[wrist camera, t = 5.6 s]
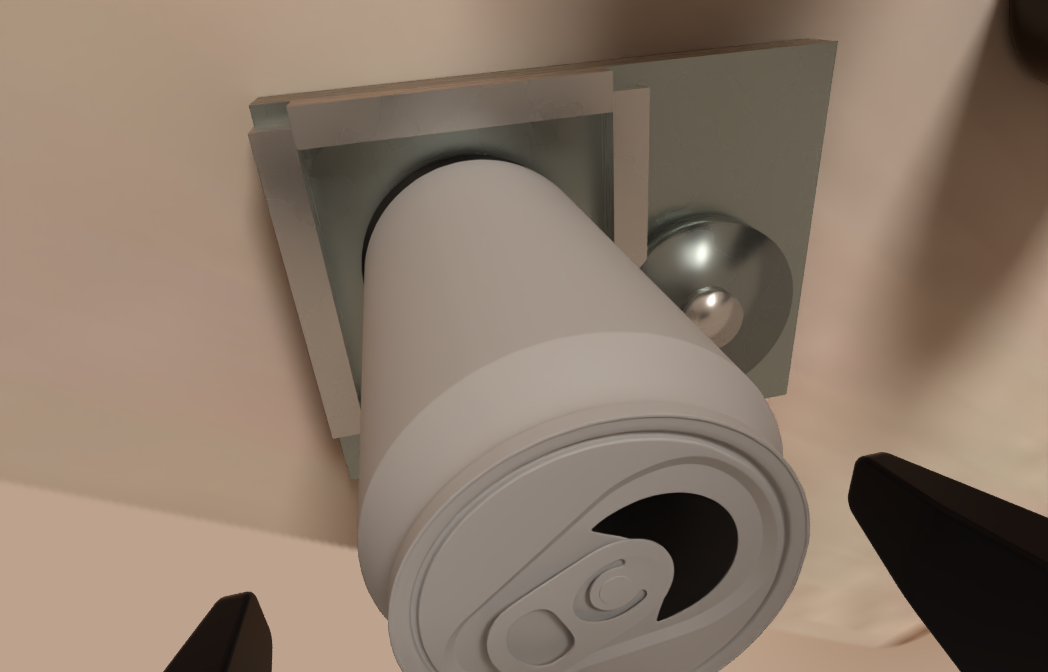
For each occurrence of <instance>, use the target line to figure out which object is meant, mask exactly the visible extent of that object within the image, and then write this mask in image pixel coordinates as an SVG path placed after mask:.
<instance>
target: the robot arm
mask: <svg viewBox="0 0 1048 672" xmlns="http://www.w3.org/2000/svg"><path fill="white" fill-rule="evenodd" d="M848 503H849V507H850V509H851V512H852V513H853V515H854V517H855V518H856V520H857V522H858V523H859V525H860V526H861V528H862V530H863V531H864V533H865V534H866V536H867V538H868V539H869V541H870V543H871V544H872V546H873V547H874V549H875V551H876V552H877V554H878V555H879V557H880V559H881V560H882V562H883V563H884V565H885V567H886V568H887V570H888V572H889V573H890V575H891V576H892V578H893V580H894V581H895V583H896V584H897V586H898V587H899V589H900V591H901V592H902V594H903V595H904V597H905V598H906V600H907V601H908V602H909V604H910V605H911V607H912V608H913V609H914V611H915V612H916V613H917V615H918V616H919V617H920V619H921V620H922V621H923V623H924V624H925V625H926V627H927V628H928V629H929V631H930V632H931V633H932V635H933V636H934V637H935V639H936V640H937V641H938V643H939V644H940V645H941V646H942V648H943V649H944V650H945V652H946V653H947V654H948V656H949V657H950V658H951V660H952V661H953V662H954V664H955V665H956V666H957V668H958V669H959V670H960V671H961V672H1048V518H1047V517H1045V516H1042V515H1040V514H1037V513H1035V512H1032V511H1030V510H1027V509H1025V508H1022V507H1020V506H1018V505H1015V504H1013V503H1010V502H1008V501H1005V500H1003V499H1000V498H998V497H995V496H993V495H990V494H988V493H985V492H983V491H980V490H978V489H976V488H973V487H971V486H968V485H966V484H963V483H961V482H958V481H956V480H953V479H951V478H948V477H946V476H943V475H941V474H939V473H936V472H934V471H931V470H929V469H926V468H924V467H921V466H919V465H916V464H914V463H911V462H909V461H906V460H904V459H901V458H899V457H897V456H894V455H892V454H889V453H885V452H880V453H875V454H870V455H866V456H862V457H860V458H858V460H857V461H856V462H855V465H854V470H853V475H852V479H851V484H850V488H849V493H848ZM271 671H272V638H271V632H270V629H269V626H268V624H267V622H266V619H265V617H264V614H263V612H262V609H261V607H260V605H259V602H258V600H257V598H256V596H255V595H254V594H253V593H252V592H243V593H239V594H234V595H230V596H225V597H223V598H221V599H219V600H218V601H217V602H216V603H215V604H214V606H213V607H212V608H211V610H210V611H209V612H208V614H207V615H206V616H205V618H204V619H203V620H202V621H201V623H200V624H199V625H198V627H197V628H196V629H195V631H194V632H193V633H192V635H191V636H190V637H189V639H188V640H187V641H186V642H185V644H184V645H183V646H182V648H181V649H180V650H179V652H178V653H177V654H176V656H175V657H174V658H173V660H172V661H171V662H170V664H169V665H168V666H167V668H166V669H165V670H164V672H271Z"/></svg>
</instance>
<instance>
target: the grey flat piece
mask: <svg viewBox="0 0 1048 672" xmlns="http://www.w3.org/2000/svg"><path fill="white" fill-rule="evenodd" d="M837 42H838V41H828V40H816V39H798V40H789V41H780V42H770V43H761V44H752V45H742V46H733V47H724V48H714V49H705V50H696V51H687V52H677V53H668V54H659V55H649V56H640V57H631V58H622V59H612V60H603V61H594V62H584V63H575V64H566V65H557V66H547V67H538V68H529V69H519V70H510V71H501V72H492V73H482V74H473V75H464V76H454V77H445V78H436V79H427V80H417V81H408V82H399V83H389V84H380V85H371V86H362V87H352V88H343V89H334V90H324V91H315V92H306V93H296V94H287V95H278V96H269V97H259V98H257V99H256V100H255V101H254V102H252V103H251V104H250V105H249V108H250V112H251V116H252V119H253V123H254V128H253V129H252V130H251V131H250V132H249V133H248V137H249V140H250V144H251V147H252V151H253V155H254V158H255V162H256V165H257V169H258V173H259V176H260V180H261V183H262V187H263V190H264V194H265V198H266V201H267V205H268V208H269V212H270V216H271V219H272V223H273V226H274V230H275V234H276V237H277V241H278V244H279V248H280V251H281V255H282V259H283V262H284V266H285V269H286V273H287V277H288V280H289V284H290V287H291V291H292V294H293V298H294V302H295V305H296V309H297V312H298V316H299V320H300V323H301V327H302V330H303V334H304V338H305V341H306V345H307V348H308V352H309V355H310V359H311V363H312V366H313V370H314V373H315V377H316V381H317V384H318V388H319V391H320V395H321V399H322V402H323V406H324V409H325V413H326V416H327V420H328V424H329V427H330V431H331V434H332V438H333V439H335V438H339V439H340V443H341V446H342V450H343V454H344V457H345V461H346V465H347V468H348V472H349V476H350V479H351V480H356V479H359V458H360V421H361V384H362V346H363V309H364V272H365V259H366V253H367V248H368V244H369V241H370V238H371V235H372V233H373V231H374V228H375V226H376V224H377V222H378V220H379V219H380V217H381V215H382V214H383V212H384V211H385V209H386V208H387V207H388V205H389V204H390V203H391V202H392V201H393V199H394V198H395V197H396V196H397V195H398V194H399V193H400V192H401V191H402V190H404V189H405V188H406V187H407V186H409V185H410V184H411V183H412V182H414V181H415V180H417V179H418V178H420V177H421V176H423V175H425V174H427V173H429V172H431V171H433V170H435V169H438V168H440V167H443V166H446V165H450V164H453V163H457V162H462V161H470V160H497V161H504V162H509V163H513V164H517V165H520V166H523V167H525V168H528V169H530V170H532V171H534V172H536V173H538V174H540V175H542V176H544V177H545V178H547V179H548V180H549V181H551V182H552V183H554V184H555V185H556V186H557V187H558V188H560V189H561V190H562V191H563V192H564V193H565V194H566V195H567V196H568V197H569V198H570V199H571V200H572V201H573V202H574V203H575V204H576V205H577V206H578V207H579V208H580V209H581V210H582V211H583V212H584V213H585V214H586V215H587V216H588V217H589V218H590V219H591V220H592V221H593V222H594V223H595V224H596V225H597V226H598V227H599V228H600V229H601V230H602V231H603V232H604V233H605V234H606V235H607V236H608V237H609V238H610V239H611V240H612V241H613V242H614V243H615V244H616V245H617V246H618V247H619V248H620V249H621V250H622V251H623V252H624V253H625V254H626V255H627V256H628V257H629V258H630V260H631V261H632V262H633V263H634V264H635V265H636V266H637V267H638V268H639V269H640V270H641V271H642V272H643V273H644V274H645V275H646V276H647V277H648V278H649V279H650V280H651V281H652V282H653V283H654V284H655V285H656V286H657V287H658V288H659V289H660V290H661V291H662V292H663V293H664V294H665V295H666V296H667V297H668V298H669V299H670V300H671V301H672V302H673V303H674V304H675V305H676V306H677V307H678V308H679V309H680V310H681V311H682V312H683V313H684V314H685V315H686V316H687V317H688V318H689V319H690V320H691V321H692V322H693V323H694V324H695V325H696V326H697V327H698V328H699V329H700V330H701V331H702V332H703V333H704V334H705V335H706V336H707V337H708V338H709V339H710V340H711V341H712V342H713V343H714V344H715V345H716V346H717V347H718V348H719V349H720V350H721V351H722V352H723V353H724V354H725V355H726V356H727V357H728V358H729V359H730V360H731V361H732V362H733V363H734V364H735V365H736V366H737V367H738V368H739V369H740V370H741V371H742V372H743V373H744V374H745V375H746V376H747V377H748V378H749V379H750V380H751V381H752V382H753V383H754V384H755V385H756V387H757V388H758V389H759V391H760V392H761V393H762V395H763V396H764V398H770V397H775V396H780V395H785V394H786V392H787V385H788V378H789V372H790V365H791V358H792V351H793V344H794V337H795V330H796V324H797V317H798V310H799V303H800V296H801V289H802V282H803V276H804V269H805V262H806V255H807V248H808V241H809V234H810V228H811V221H812V214H813V207H814V200H815V193H816V186H817V180H818V173H819V166H820V159H821V152H822V145H823V138H824V132H825V125H826V118H827V111H828V104H829V97H830V90H831V84H832V77H833V70H834V63H835V56H836V49H837Z"/></svg>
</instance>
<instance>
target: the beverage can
mask: <svg viewBox="0 0 1048 672" xmlns="http://www.w3.org/2000/svg"><path fill="white" fill-rule="evenodd" d="M809 536H810V517H809V508H808V503H807V500H806V496H805V493H804V490H803V487H802V485H801V483H800V481H799V479H798V477H797V476H796V474H795V472H794V471H793V469H792V468H791V466H790V465H789V464H788V462H787V461H786V460H785V459H784V458H783V446H782V440H781V436H780V432H779V428H778V425H777V422H776V419H775V417H774V414H773V412H772V410H771V409H770V407H769V405H768V403H767V401H766V400H765V398H764V396H763V395H762V393H761V392H760V391H759V389H758V388H757V387H756V385H755V384H754V383H753V382H752V381H751V380H750V379H749V378H748V377H747V376H746V375H745V374H744V373H743V372H742V371H741V370H740V369H739V368H738V367H737V366H736V365H735V364H734V363H733V362H732V361H731V360H730V359H729V358H728V357H727V356H726V355H725V354H724V353H723V352H722V351H721V350H720V349H719V348H718V347H717V346H716V345H715V344H714V343H713V342H712V341H711V340H710V339H709V338H708V337H707V336H706V335H705V334H704V333H703V332H702V331H701V330H700V329H699V328H698V327H697V326H696V325H695V324H694V323H693V322H692V321H691V320H690V319H689V318H688V317H687V316H686V315H685V314H684V313H683V312H682V311H681V310H680V309H679V308H678V307H677V306H676V305H675V304H674V303H673V302H672V301H671V300H670V299H669V298H668V297H667V296H666V295H665V294H664V293H663V292H662V291H661V290H660V289H659V288H658V287H657V286H656V285H655V284H654V283H653V282H652V281H651V280H650V279H649V278H648V277H647V276H646V275H645V274H644V273H643V272H642V271H641V270H640V269H639V268H638V267H637V266H636V265H635V264H634V263H633V262H632V261H631V260H630V258H629V257H628V256H627V255H626V254H625V253H624V252H623V251H622V250H621V249H620V248H619V247H618V246H617V245H616V244H615V243H614V242H613V241H612V240H611V239H610V238H609V237H608V236H607V235H606V234H605V233H604V232H603V231H602V230H601V229H600V228H599V227H598V226H597V225H596V224H595V223H594V222H593V221H592V220H591V219H590V218H589V217H588V216H587V215H586V214H585V213H584V212H583V211H582V210H581V209H580V208H579V207H578V206H577V205H576V204H575V203H574V202H573V201H572V200H571V199H570V198H569V197H568V196H567V195H566V194H565V193H564V192H563V191H562V190H561V189H560V188H558V187H557V186H556V185H555V184H554V183H552V182H551V181H549V180H548V179H547V178H545V177H544V176H542V175H540V174H538V173H536V172H534V171H532V170H530V169H528V168H525V167H523V166H520V165H517V164H513V163H509V162H504V161H497V160H470V161H462V162H457V163H453V164H450V165H446V166H443V167H440V168H438V169H435V170H433V171H431V172H429V173H427V174H425V175H423V176H421V177H420V178H418V179H417V180H415V181H414V182H412V183H411V184H410V185H409V186H407V187H406V188H405V189H404V190H402V191H401V192H400V193H399V194H398V195H397V196H396V197H395V198H394V199H393V201H392V202H391V203H390V204H389V205H388V207H387V208H386V209H385V211H384V212H383V214H382V215H381V217H380V219H379V220H378V222H377V224H376V226H375V228H374V231H373V233H372V235H371V238H370V241H369V244H368V248H367V253H366V259H365V272H364V309H363V346H362V384H361V421H360V458H359V496H358V533H357V543H358V556H359V562H360V567H361V572H362V575H363V578H364V581H365V584H366V587H367V589H368V591H369V593H370V595H371V597H372V599H373V600H374V602H375V604H376V606H377V607H378V609H379V610H380V612H381V613H382V614H383V615H384V617H385V618H386V619H387V620H388V630H389V636H390V642H391V646H392V649H393V653H394V656H395V658H396V661H397V663H398V665H399V666H400V668H401V670H402V672H718V671H719V670H721V669H722V668H724V667H725V666H726V665H727V664H729V663H730V662H731V661H733V660H734V659H735V658H736V657H738V656H739V655H740V654H741V653H742V652H743V651H744V650H745V649H746V648H747V647H748V646H750V644H752V643H753V642H754V641H755V640H756V639H757V638H758V637H759V636H760V635H761V634H762V632H763V631H764V630H765V629H766V628H767V627H768V625H769V624H770V623H771V622H772V621H773V619H774V618H775V617H776V615H777V614H778V613H779V611H780V610H781V608H782V607H783V605H784V604H785V602H786V600H787V599H788V597H789V596H790V594H791V592H792V590H793V589H794V586H795V584H796V582H797V579H798V577H799V574H800V571H801V568H802V565H803V562H804V558H805V555H806V552H807V548H808V544H809Z"/></svg>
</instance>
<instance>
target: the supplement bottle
mask: <svg viewBox="0 0 1048 672" xmlns="http://www.w3.org/2000/svg"><path fill="white" fill-rule="evenodd" d="M1009 22H1010V32H1011V38H1012V42H1013V45H1014V49H1015V51H1016V53H1017V56H1018V58H1019V59H1020V61H1021V63H1022V64H1023V65H1024V67H1025V68H1026V69H1027V70H1028V72H1029V73H1031V74H1032V75H1033V76H1034V77H1035V78H1037V79H1038V80H1040V81H1042V82H1043V83H1046V84H1048V0H1011V1H1010V14H1009Z"/></svg>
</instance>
